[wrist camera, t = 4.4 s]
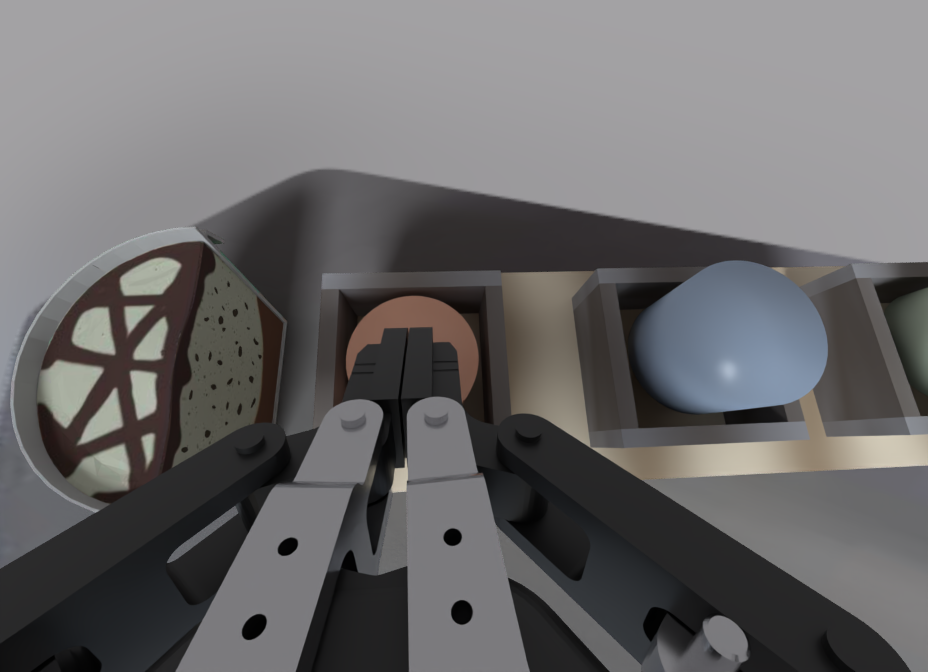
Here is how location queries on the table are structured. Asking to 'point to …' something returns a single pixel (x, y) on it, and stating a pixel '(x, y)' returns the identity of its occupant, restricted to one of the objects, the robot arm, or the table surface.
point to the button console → (616, 387)
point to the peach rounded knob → (420, 314)
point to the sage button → (911, 335)
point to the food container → (143, 365)
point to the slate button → (729, 341)
